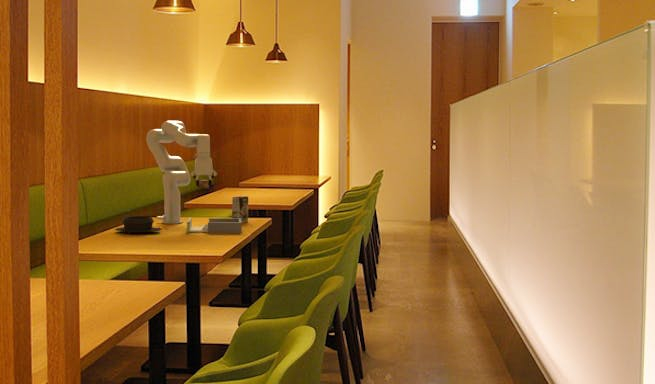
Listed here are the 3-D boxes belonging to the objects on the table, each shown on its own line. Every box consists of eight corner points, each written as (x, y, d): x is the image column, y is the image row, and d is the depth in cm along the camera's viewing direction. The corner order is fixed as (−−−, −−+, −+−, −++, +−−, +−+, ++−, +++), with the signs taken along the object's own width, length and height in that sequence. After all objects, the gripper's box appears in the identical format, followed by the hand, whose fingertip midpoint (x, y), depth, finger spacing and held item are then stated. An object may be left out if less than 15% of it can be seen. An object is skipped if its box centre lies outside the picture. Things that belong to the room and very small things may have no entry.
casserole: (165, 231, 413) (165, 216, 412) (155, 235, 395) (154, 220, 394) (122, 229, 415) (122, 215, 415) (109, 234, 397) (109, 219, 396)
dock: (207, 233, 406) (207, 222, 405) (209, 228, 425) (209, 218, 425) (241, 233, 408) (241, 222, 408) (241, 228, 428) (241, 218, 427)
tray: (186, 232, 404) (186, 221, 404) (189, 227, 424) (189, 217, 424) (222, 232, 407) (222, 221, 406) (223, 227, 427) (223, 217, 426)
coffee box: (240, 223, 448) (240, 197, 447) (231, 223, 451) (231, 196, 449) (248, 222, 456) (248, 196, 455) (239, 221, 459) (239, 195, 458)
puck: (198, 188, 424) (198, 180, 423) (198, 187, 430) (198, 180, 429) (209, 188, 424) (208, 180, 424) (209, 187, 430) (209, 179, 430)
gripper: (188, 155, 421) (188, 187, 422) (218, 155, 423) (218, 187, 424) (188, 155, 428) (189, 186, 429) (218, 155, 431) (218, 186, 432)
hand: (203, 186), depth 427 cm, fingers closed on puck, 6 cm apart
